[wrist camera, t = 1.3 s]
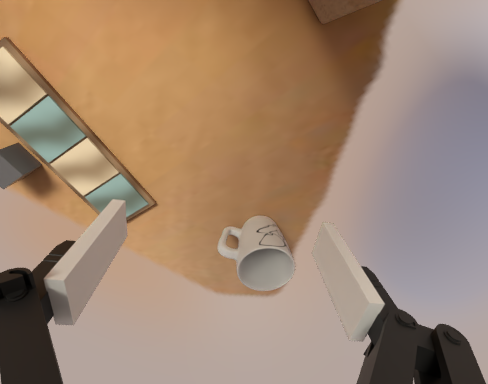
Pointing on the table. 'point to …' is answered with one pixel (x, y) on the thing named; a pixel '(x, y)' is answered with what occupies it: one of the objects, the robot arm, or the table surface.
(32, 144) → the track
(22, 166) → the cube
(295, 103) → the table surface
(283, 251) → the mug
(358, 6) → the wooden block
